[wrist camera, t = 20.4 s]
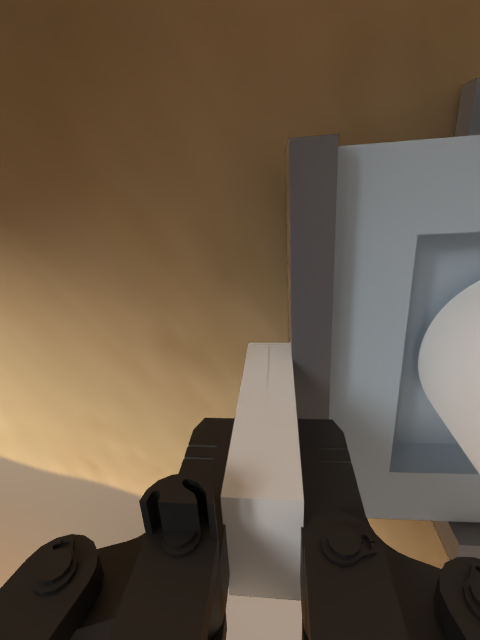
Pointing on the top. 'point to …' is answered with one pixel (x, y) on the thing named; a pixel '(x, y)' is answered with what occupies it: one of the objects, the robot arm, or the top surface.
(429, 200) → the tray
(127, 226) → the top surface
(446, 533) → the tray
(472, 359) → the can
